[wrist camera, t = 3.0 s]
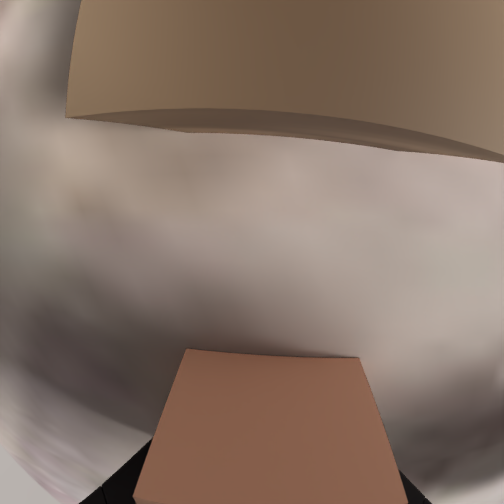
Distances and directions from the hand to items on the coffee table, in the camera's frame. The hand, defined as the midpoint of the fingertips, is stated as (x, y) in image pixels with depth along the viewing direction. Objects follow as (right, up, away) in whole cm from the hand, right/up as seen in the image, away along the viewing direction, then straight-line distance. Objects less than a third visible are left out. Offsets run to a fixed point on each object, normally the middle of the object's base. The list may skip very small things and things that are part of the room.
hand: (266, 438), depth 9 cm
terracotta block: (0, 0, +1) cm, 1 cm away
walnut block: (+1, +11, -2) cm, 11 cm away
